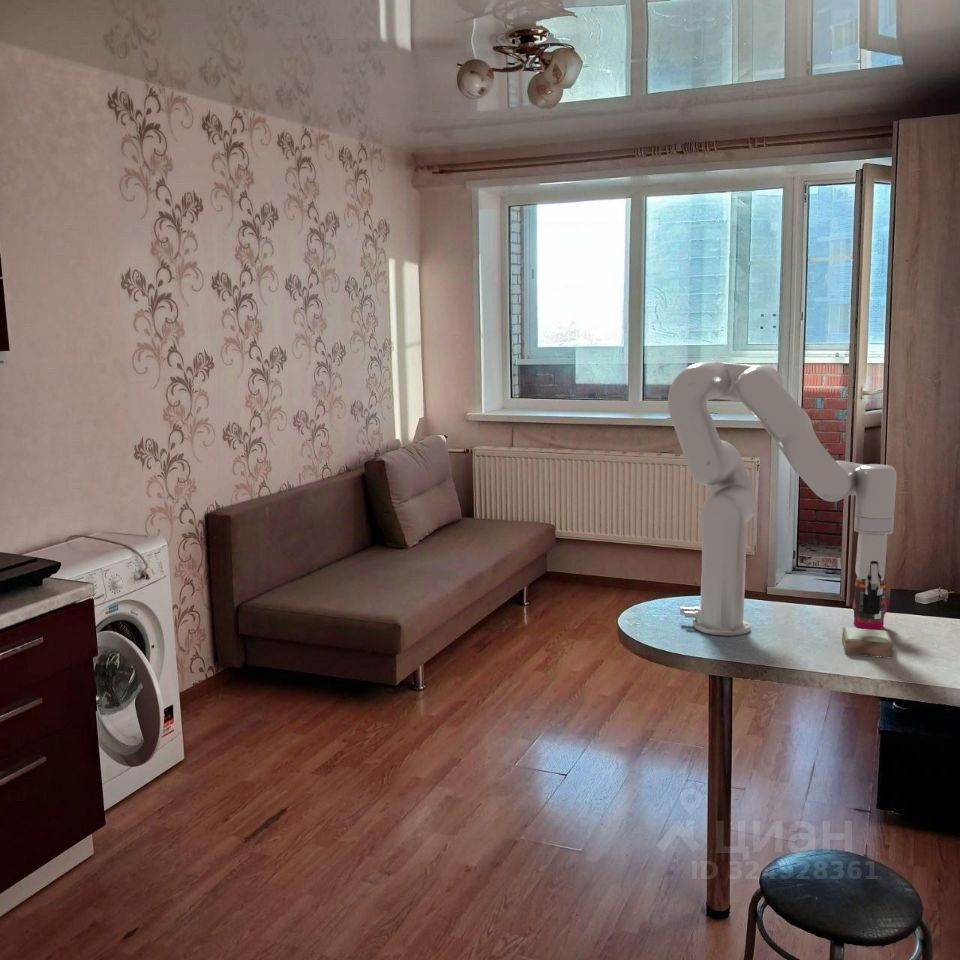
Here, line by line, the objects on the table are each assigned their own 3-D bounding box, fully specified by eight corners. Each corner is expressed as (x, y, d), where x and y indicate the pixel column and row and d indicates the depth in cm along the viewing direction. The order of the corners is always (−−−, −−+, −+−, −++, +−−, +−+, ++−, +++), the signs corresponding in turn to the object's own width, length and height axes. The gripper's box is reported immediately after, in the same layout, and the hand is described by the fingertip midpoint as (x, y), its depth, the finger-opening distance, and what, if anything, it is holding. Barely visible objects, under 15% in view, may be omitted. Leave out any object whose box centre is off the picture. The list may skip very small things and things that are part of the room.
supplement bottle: (887, 625, 199) (890, 571, 197) (856, 623, 200) (859, 570, 198) (880, 616, 205) (883, 564, 203) (850, 615, 206) (853, 563, 204)
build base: (845, 654, 200) (845, 639, 200) (841, 640, 209) (842, 626, 208) (891, 658, 198) (892, 643, 197) (886, 644, 206) (887, 630, 206)
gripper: (851, 516, 208) (846, 597, 211) (858, 531, 192) (853, 619, 195) (888, 517, 206) (883, 599, 209) (898, 533, 190) (893, 622, 193)
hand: (869, 608), depth 202 cm, fingers closed on supplement bottle, 6 cm apart
